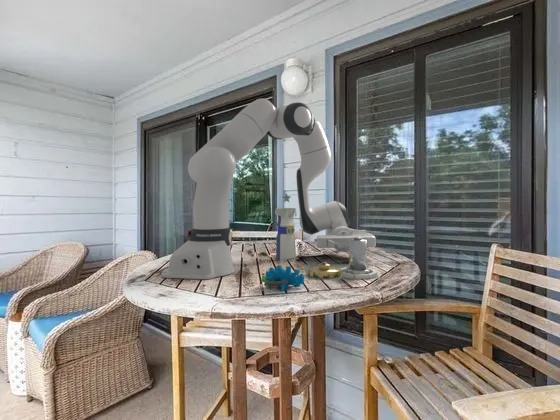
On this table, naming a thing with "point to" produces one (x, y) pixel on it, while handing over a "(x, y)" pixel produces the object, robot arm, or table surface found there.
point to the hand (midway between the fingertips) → (349, 244)
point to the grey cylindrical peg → (357, 256)
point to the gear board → (333, 266)
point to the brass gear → (324, 271)
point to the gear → (282, 277)
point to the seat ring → (359, 276)
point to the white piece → (285, 233)
